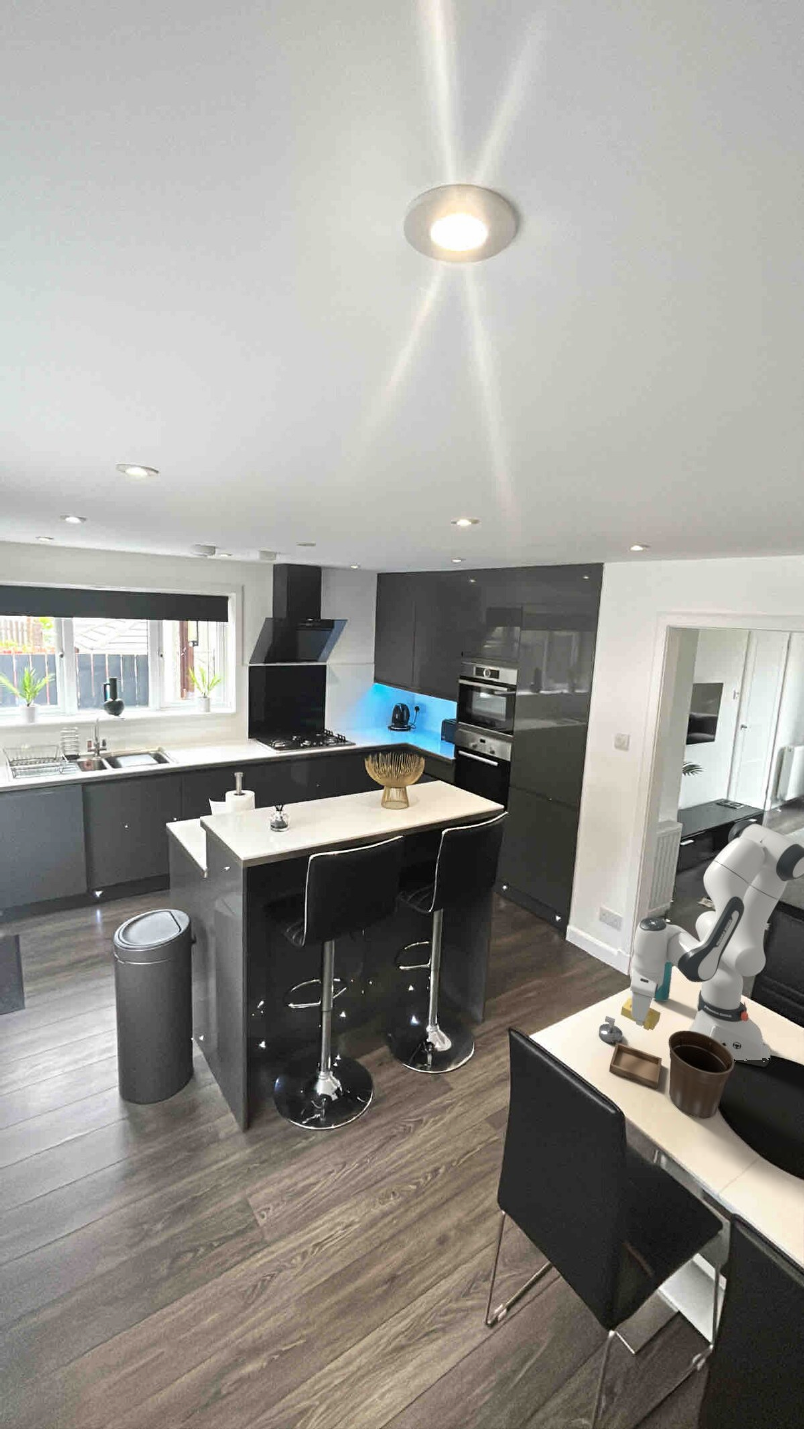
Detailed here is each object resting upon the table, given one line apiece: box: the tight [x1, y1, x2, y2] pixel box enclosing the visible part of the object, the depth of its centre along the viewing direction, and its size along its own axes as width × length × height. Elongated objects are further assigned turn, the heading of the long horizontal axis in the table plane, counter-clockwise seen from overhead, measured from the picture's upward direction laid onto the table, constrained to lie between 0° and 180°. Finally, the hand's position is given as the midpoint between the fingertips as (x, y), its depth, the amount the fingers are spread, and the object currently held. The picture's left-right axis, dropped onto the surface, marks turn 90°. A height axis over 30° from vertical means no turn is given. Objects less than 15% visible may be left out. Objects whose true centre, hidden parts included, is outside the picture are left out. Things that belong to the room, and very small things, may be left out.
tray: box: [608, 1043, 663, 1090], centre depth 183 cm, size 13×11×2 cm
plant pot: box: [668, 1030, 735, 1120], centre depth 170 cm, size 16×16×16 cm
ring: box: [620, 997, 662, 1031], centre depth 180 cm, size 7×9×3 cm
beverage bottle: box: [653, 962, 674, 1002], centre depth 214 cm, size 6×7×20 cm
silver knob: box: [598, 1015, 624, 1046], centre depth 195 cm, size 7×7×6 cm
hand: (641, 1016), depth 180 cm, fingers closed on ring, 6 cm apart
